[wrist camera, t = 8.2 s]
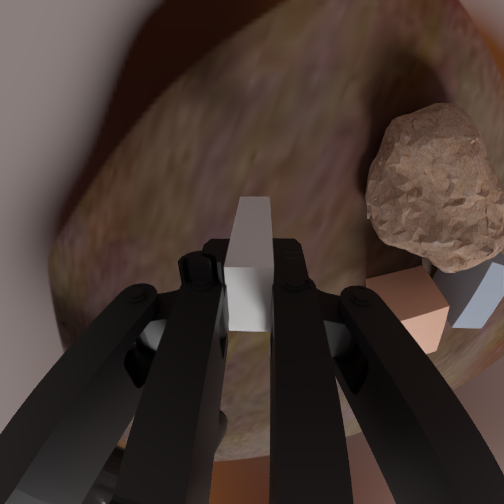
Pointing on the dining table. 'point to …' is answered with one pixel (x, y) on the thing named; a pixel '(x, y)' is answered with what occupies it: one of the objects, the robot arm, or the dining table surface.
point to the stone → (436, 189)
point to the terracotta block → (414, 303)
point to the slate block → (472, 292)
